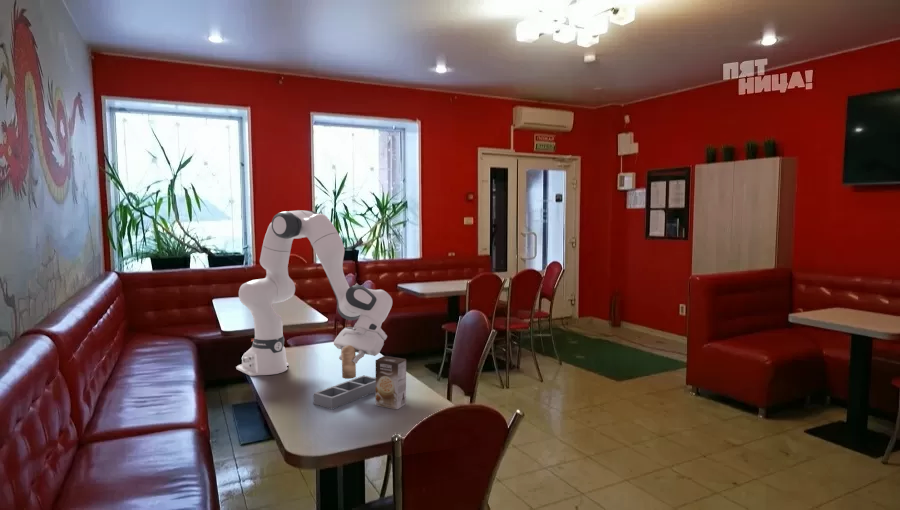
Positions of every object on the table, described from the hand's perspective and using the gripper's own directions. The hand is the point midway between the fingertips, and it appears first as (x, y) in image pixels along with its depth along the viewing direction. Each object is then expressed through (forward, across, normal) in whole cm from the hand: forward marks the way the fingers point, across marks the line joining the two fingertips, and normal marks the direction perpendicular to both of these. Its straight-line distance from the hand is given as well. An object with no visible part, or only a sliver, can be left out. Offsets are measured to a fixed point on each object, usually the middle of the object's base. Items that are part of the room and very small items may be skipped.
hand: (347, 361), depth 192 cm
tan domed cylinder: (+4, 0, +5) cm, 6 cm away
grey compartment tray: (+9, 0, +10) cm, 13 cm away
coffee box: (+8, +18, +11) cm, 22 cm away
